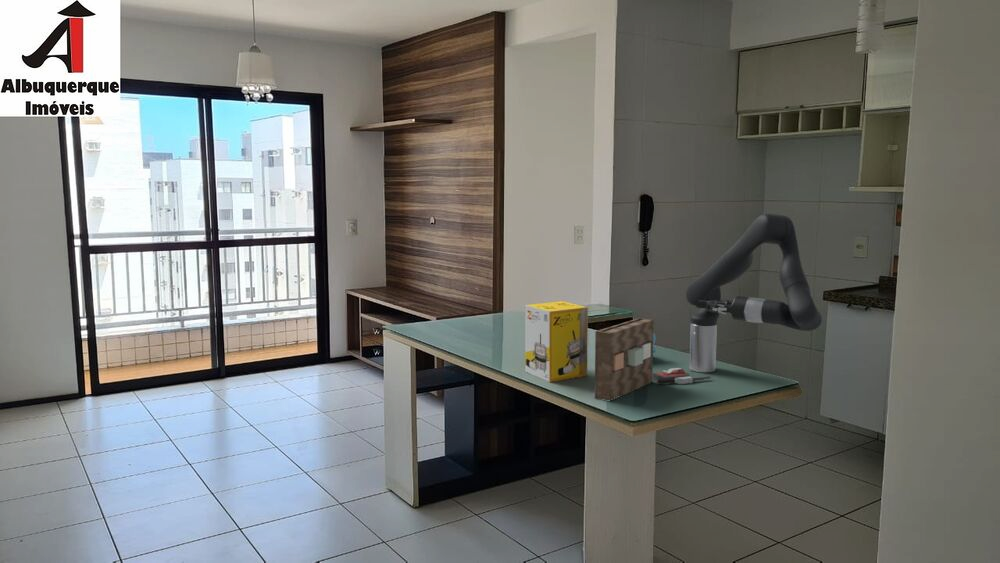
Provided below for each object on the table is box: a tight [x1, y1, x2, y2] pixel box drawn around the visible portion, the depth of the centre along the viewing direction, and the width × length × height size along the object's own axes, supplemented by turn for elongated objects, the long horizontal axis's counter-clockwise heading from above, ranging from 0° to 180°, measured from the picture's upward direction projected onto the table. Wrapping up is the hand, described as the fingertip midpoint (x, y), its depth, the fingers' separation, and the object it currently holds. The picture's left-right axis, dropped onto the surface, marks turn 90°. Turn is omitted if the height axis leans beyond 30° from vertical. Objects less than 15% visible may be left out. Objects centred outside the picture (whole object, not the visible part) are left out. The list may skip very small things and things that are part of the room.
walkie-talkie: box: [652, 367, 712, 385], centre depth 248 cm, size 9×4×20 cm
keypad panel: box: [594, 317, 655, 401], centre depth 236 cm, size 28×6×22 cm, turn 140°
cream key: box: [642, 342, 651, 360], centre depth 242 cm, size 5×4×5 cm
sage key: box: [628, 347, 643, 366], centre depth 234 cm, size 5×4×5 cm
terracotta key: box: [613, 352, 624, 371], centre depth 229 cm, size 5×4×5 cm
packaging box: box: [524, 300, 589, 383], centre depth 257 cm, size 16×16×25 cm
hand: (697, 303), depth 228 cm, fingers closed
